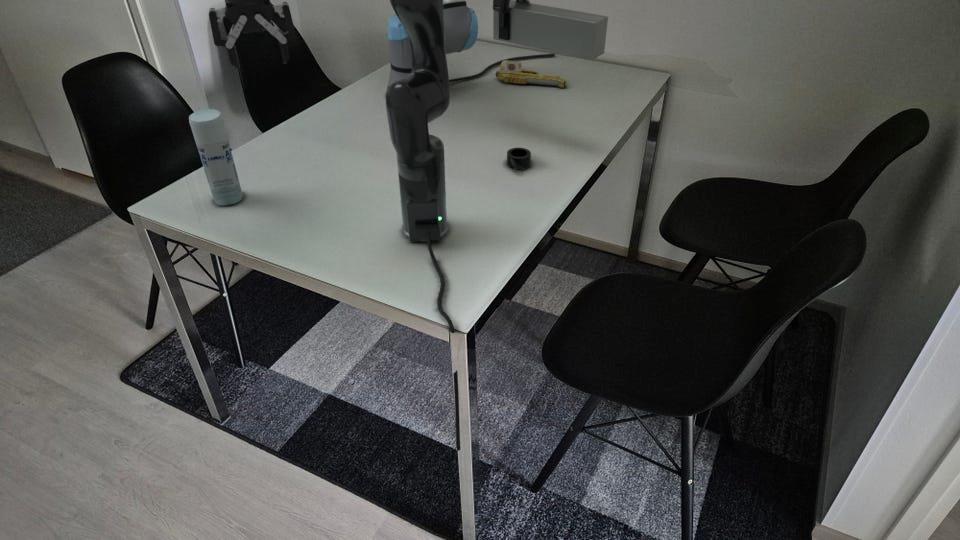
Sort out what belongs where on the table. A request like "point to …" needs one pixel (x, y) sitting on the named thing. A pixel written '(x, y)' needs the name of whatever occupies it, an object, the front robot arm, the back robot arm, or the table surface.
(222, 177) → the spray paint can
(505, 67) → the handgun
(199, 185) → the table surface
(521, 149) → the duct tape
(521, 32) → the bar
